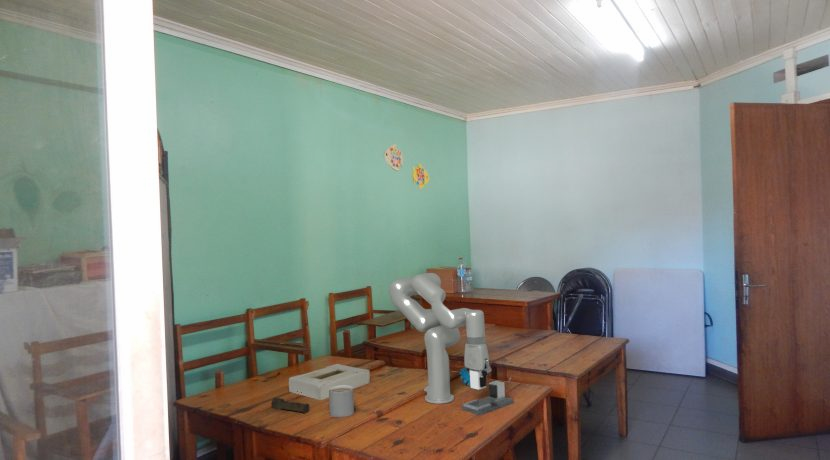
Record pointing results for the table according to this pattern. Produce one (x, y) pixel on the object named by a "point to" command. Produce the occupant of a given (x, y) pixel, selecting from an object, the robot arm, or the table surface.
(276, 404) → the hand tool
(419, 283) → the robot arm
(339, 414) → the coffee mug
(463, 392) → the table surface
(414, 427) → the table surface
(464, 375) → the gear
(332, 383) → the box
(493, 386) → the rail
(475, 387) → the block
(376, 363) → the table surface
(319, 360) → the table surface
